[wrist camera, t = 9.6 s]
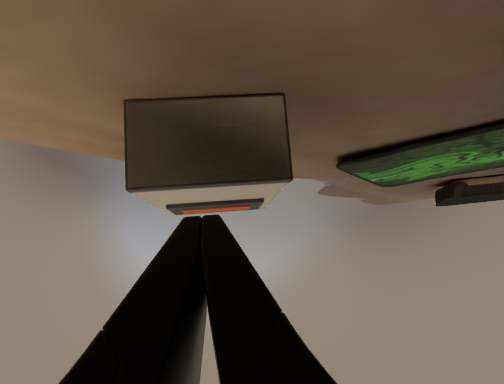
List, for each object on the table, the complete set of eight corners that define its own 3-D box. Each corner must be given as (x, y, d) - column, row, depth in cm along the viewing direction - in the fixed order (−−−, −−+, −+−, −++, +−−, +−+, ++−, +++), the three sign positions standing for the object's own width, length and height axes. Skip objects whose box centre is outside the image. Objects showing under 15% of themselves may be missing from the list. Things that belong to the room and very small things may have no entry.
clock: (125, 197, 18) (169, 219, 33) (294, 186, 19) (265, 212, 33) (123, 100, 19) (167, 163, 34) (285, 93, 20) (261, 158, 34)
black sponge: (428, 187, 66) (431, 207, 65) (444, 180, 57) (448, 201, 57) (524, 177, 63) (528, 197, 62) (555, 168, 55) (560, 191, 54)
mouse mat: (751, 65, 21) (756, 81, 21) (630, 141, 39) (632, 150, 39) (328, 158, 36) (329, 168, 36) (381, 182, 54) (382, 189, 54)
